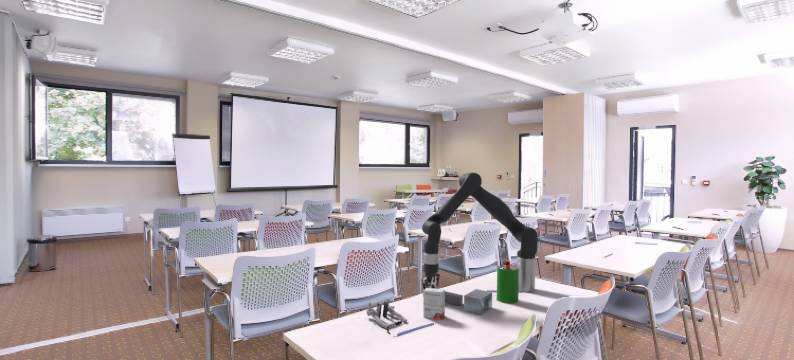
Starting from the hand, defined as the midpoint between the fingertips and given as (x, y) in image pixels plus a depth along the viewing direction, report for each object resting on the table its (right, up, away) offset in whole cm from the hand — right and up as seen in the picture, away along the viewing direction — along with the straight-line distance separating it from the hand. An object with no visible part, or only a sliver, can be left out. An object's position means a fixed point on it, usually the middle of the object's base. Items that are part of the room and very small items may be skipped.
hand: (430, 296), depth 200 cm
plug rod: (+5, -1, -4) cm, 7 cm away
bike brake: (-20, -2, -31) cm, 37 cm away
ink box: (-1, -2, -24) cm, 24 cm away
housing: (+20, -1, -15) cm, 25 cm away
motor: (+37, -1, -3) cm, 37 cm away
